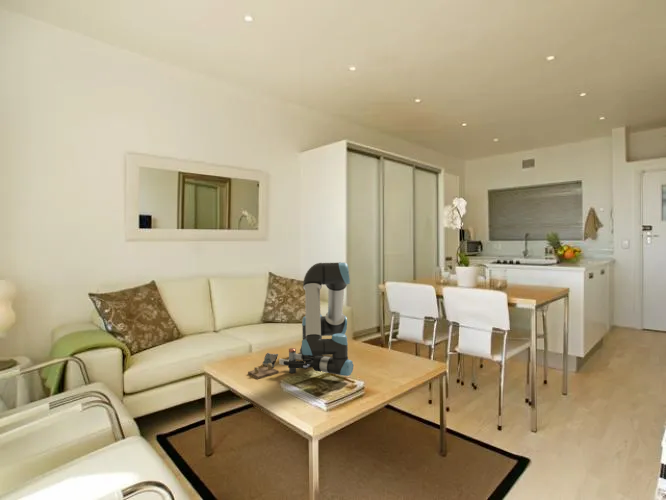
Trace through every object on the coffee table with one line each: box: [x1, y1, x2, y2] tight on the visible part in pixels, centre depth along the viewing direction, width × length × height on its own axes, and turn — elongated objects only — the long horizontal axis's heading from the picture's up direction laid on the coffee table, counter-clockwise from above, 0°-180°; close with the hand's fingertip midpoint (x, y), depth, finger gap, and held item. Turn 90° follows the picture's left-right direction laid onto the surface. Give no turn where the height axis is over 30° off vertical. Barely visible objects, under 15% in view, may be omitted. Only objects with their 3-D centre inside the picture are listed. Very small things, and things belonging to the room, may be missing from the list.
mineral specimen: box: [262, 352, 279, 368], centre depth 206 cm, size 10×8×10 cm
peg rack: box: [247, 363, 280, 380], centre depth 193 cm, size 12×10×4 cm
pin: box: [288, 347, 297, 374], centre depth 195 cm, size 4×4×12 cm
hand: (285, 358), depth 196 cm, fingers open, 10 cm apart
